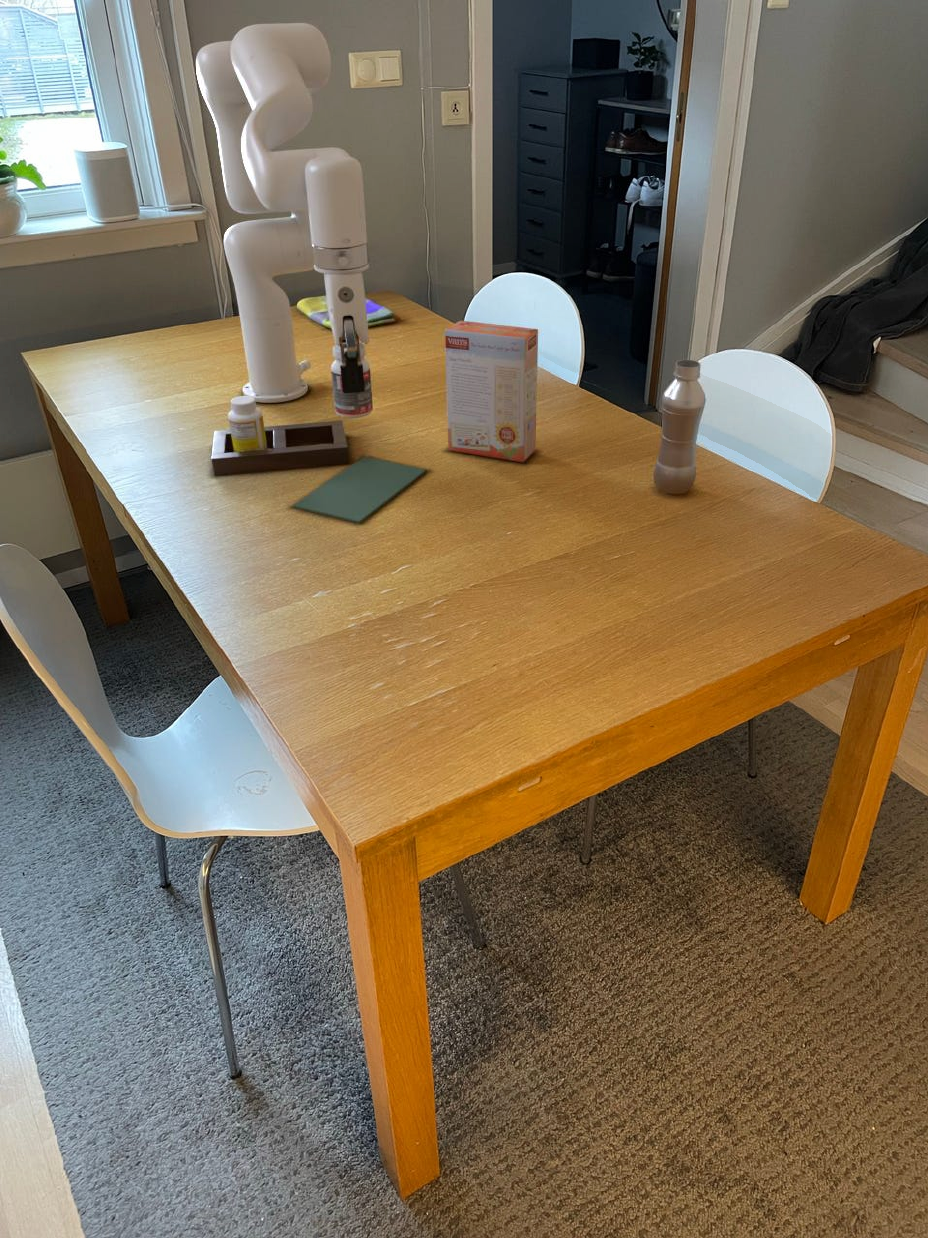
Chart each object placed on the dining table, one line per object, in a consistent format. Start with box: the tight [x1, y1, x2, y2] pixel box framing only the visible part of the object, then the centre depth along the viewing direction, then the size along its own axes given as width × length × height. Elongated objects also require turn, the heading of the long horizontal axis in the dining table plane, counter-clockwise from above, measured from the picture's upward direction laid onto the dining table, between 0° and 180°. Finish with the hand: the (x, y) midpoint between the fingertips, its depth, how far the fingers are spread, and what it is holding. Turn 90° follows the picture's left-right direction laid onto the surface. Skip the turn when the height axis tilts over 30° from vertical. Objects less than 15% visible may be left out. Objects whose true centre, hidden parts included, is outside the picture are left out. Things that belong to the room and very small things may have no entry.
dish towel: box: [296, 294, 396, 330], centre depth 225 cm, size 18×24×3 cm
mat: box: [293, 456, 427, 524], centre depth 146 cm, size 20×12×1 cm, turn 152°
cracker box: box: [444, 320, 539, 463], centre depth 152 cm, size 14×6×21 cm, turn 65°
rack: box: [211, 419, 350, 477], centre depth 157 cm, size 12×22×3 cm, turn 100°
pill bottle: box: [330, 342, 374, 419], centre depth 137 cm, size 6×6×10 cm
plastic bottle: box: [653, 359, 707, 495], centre depth 139 cm, size 6×7×20 cm
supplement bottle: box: [227, 395, 268, 452], centre depth 154 cm, size 6×6×10 cm
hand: (351, 383), depth 137 cm, fingers closed on pill bottle, 5 cm apart
